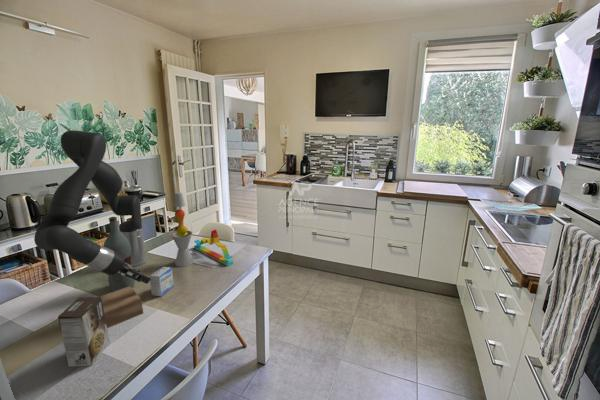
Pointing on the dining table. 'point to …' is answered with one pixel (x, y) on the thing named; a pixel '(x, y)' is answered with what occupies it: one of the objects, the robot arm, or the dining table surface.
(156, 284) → the medicine box
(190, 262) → the lava lamp
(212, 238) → the rainbow clothes hanger
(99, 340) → the coffee box
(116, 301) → the walnut block
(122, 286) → the bottle
